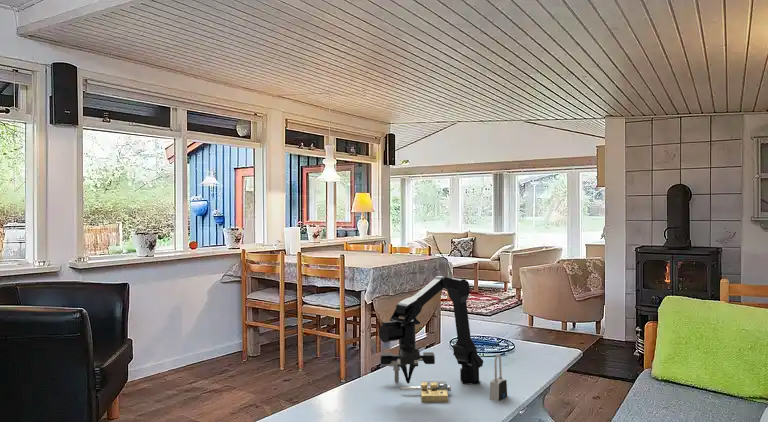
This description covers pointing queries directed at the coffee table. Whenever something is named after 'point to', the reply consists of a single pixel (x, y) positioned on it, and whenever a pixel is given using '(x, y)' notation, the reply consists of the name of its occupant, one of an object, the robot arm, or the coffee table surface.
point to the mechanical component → (395, 369)
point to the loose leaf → (433, 394)
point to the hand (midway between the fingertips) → (408, 382)
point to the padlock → (498, 384)
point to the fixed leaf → (440, 386)
